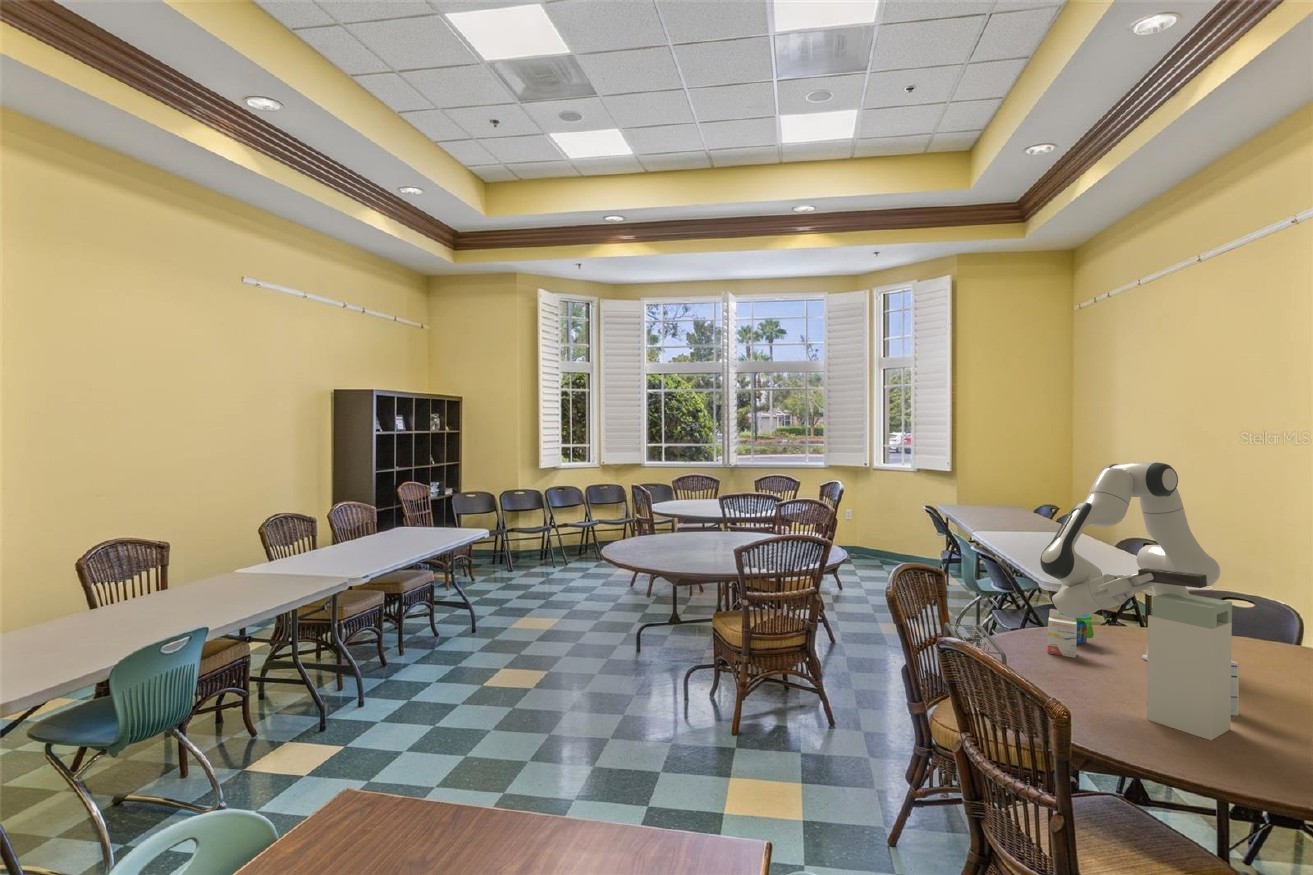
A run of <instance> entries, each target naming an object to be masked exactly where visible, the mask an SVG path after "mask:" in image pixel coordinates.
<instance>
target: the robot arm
mask: <svg viewBox="0 0 1313 875" xmlns="http://www.w3.org/2000/svg"><path fill="white" fill-rule="evenodd" d="M1178 484H1179V476H1178V474H1177V471H1176V470H1175V469H1174V468H1173V466H1171V465H1169V464H1167V463H1163V462H1158V461H1157V462H1144V461H1143V462H1140V461H1137V462H1136V461H1135V462H1127V463H1119V464H1118V463H1113V464H1108V465H1105V466H1104V467H1103V468H1102V469H1101V470H1100V472H1099V474H1097V476H1096V478H1095V480H1094V481H1093V483H1092V485H1091V487H1090V489H1089V491H1088V494H1087V496H1086V498H1085V500H1084V501H1083V502H1079V503H1076V505H1074V506H1073V507H1072V509H1070V511H1069V513H1067V516H1065V519H1064V521H1063V522H1062V524H1061V526H1060V527H1059V528H1058V530H1057V532H1056V534H1055V535H1054V537H1053V539H1052V540H1051V542H1050V543H1049V544H1048V545H1047V547H1045V549H1044V550H1043V551H1042V553H1041V556H1040V559H1039V560H1040V568H1041V570H1042V571H1043V573H1045V574H1047V575H1049V576H1051V577H1053V578H1055V579H1057V580H1058V581H1060V582H1062V584H1061V587H1060V589H1059V590H1058V592H1056V593H1055V594H1053V595H1052V598H1051V599H1052V603H1053V605H1054V607H1055V608H1056V610H1058V611H1059V612H1060V613H1062V614H1063V615H1065V616H1067V617H1070V618H1074V617H1081V616H1085V615H1091V614H1094V613H1096V612H1098V611H1099V610H1107V609H1111V608H1114V607H1118V606H1120V605H1123V604H1125V603H1126V602H1127V601H1128V599H1131V598H1133V597H1135V594H1137V593H1139V592H1142V591H1144V590H1147V589H1148V588H1151V590H1152V593H1153V597H1154V596H1157V595H1161V594H1165V593H1168V592H1172V591H1174V592H1180V593H1186V594H1190V592H1189V591H1188V589H1187V587H1186V586H1178V585H1170V584H1161V583H1153V582H1147V581H1150V580H1153V579H1155V578H1156V577H1155V576H1154V574H1153V573H1148V574H1145V575H1142V576H1138V573H1135V574H1129V575H1128V574H1127V575H1123V574H1122V575H1115V574H1113V575H1112V574H1108V573H1106V574H1103V571H1101V569H1100V568H1099V567H1098V566H1096V565H1095V564H1094V563H1092V562H1091V561H1090V560H1088V559H1086V558H1084V557H1083V556H1081V555H1080V554H1079V553H1077V552H1076V550H1075V545H1076V543H1077V542H1078V540H1079V538H1080V536H1081V535H1082V533H1083V532H1084V530H1085V528H1086V527H1088V526H1092V527H1101V528H1102V527H1103V528H1106V527H1107V528H1108V527H1113V526H1116V525H1118V524H1120V523H1121V522H1122V521H1123V519H1124V518H1125V517H1126V514H1127V512H1128V508H1129V506H1130V503H1131V499H1132V498H1139V503H1140V508H1141V509H1140V510H1141V514H1142V516H1143V517H1142V518H1143V521H1144V526H1145V529H1146V532H1147V534H1148V535H1149V536H1150V537H1151V538H1152V539H1153V540H1154V541H1156V543H1157V544H1149V545H1145V546H1143V547H1141V548H1140V549H1139V551H1138V552H1137V555H1136V564H1137V566H1138V568H1139V570H1140V569H1144V568H1147V569H1157V570H1166V571H1176V572H1185V573H1194V574H1204V575H1206V577H1207V586H1206V587H1210V586H1213V585H1215V583H1216V582H1217V581H1219V578H1220V575H1221V569H1220V564H1219V563H1218V561H1216V559H1214V558H1213V557H1211V556H1210V555H1209V553H1207V552H1206V551H1205V550H1204V548H1202V546H1201V544H1200V543H1199V542H1198V541H1197V539H1196V537H1195V536H1194V534H1193V533H1192V531H1191V528H1190V525H1189V523H1188V518H1187V516H1186V512H1185V508H1184V505H1183V500H1182V497H1181V495H1180V493H1179V490H1178ZM1206 587H1205V588H1206ZM1146 645H1147V646H1146V654H1142V656H1141V659H1143V660H1145V661H1147V659H1148V644H1146Z"/></svg>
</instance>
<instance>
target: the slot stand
mask: <svg viewBox="0 0 1313 875" xmlns="http://www.w3.org/2000/svg"><path fill="white" fill-rule="evenodd" d="M1151 599H1152V609H1151V610H1152V612H1151V613H1152V614H1150V615H1147V645H1148V659H1147V660H1146V661H1147V666H1146V667H1147V668H1146V670H1147V675H1146V676H1147V677H1146V680H1147V681H1146V682H1147V683H1146V684H1147V686H1146V688H1147V689H1146V720H1148V721H1151V722H1153V723H1156V724H1160V725H1163V726H1165V727H1168V728H1172V729H1174V728H1175V730H1179V731H1180V732H1184V733H1187V734H1191V735H1193V736H1196V737H1199V738H1203V739H1206V740H1209V741H1213V740H1214V739H1216V738H1218V737H1220V736H1221V735H1223V734H1225V733H1226V732H1228V731H1230V730H1231V723H1232V722H1231V721H1232V720H1231V717H1232V715H1231V660H1232V641H1233V640H1232V639H1233V638H1232V636H1233V635H1232V632H1233V630H1232V629H1233V628H1232V627H1233V622H1232V621H1233V601H1229V600H1224V599H1218V598H1213V597H1208V596H1202V595H1196V594H1192V593H1189V594H1186V593H1180V592H1174V591H1172V592H1168V593H1165V594H1161V595H1157V596H1154V595H1153V596H1152V598H1151Z"/></svg>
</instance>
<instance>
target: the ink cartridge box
mask: <svg viewBox="0 0 1313 875" xmlns="http://www.w3.org/2000/svg"><path fill="white" fill-rule="evenodd" d="M1058 613H1060V612H1059V611H1058V610H1057V609H1055V608H1050V609H1049V617H1048V619H1047V620H1048V623H1047V653H1048V654H1050V655H1051V654H1052V655H1055V656H1062V657H1067V658H1074V659H1075V658H1077V643H1076V642H1077V621H1076V617H1074V618H1070V617H1067V616H1063V615H1058Z"/></svg>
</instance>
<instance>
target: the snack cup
mask: <svg viewBox="0 0 1313 875" xmlns="http://www.w3.org/2000/svg"><path fill="white" fill-rule="evenodd" d="M1058 615H1063V614H1062V613H1058ZM1063 616H1065V615H1063ZM1092 619H1093V617H1092V615H1091V614H1089V615H1085V616H1081V617H1076V621H1077V642H1076V645H1077V644H1079V645H1080V644H1081V645H1082V644H1085V643H1087V640H1088V639H1092V638H1093V637H1094V635H1095V634H1094V630H1093V629H1094V628H1093V625H1092V622H1091V620H1092Z"/></svg>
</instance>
